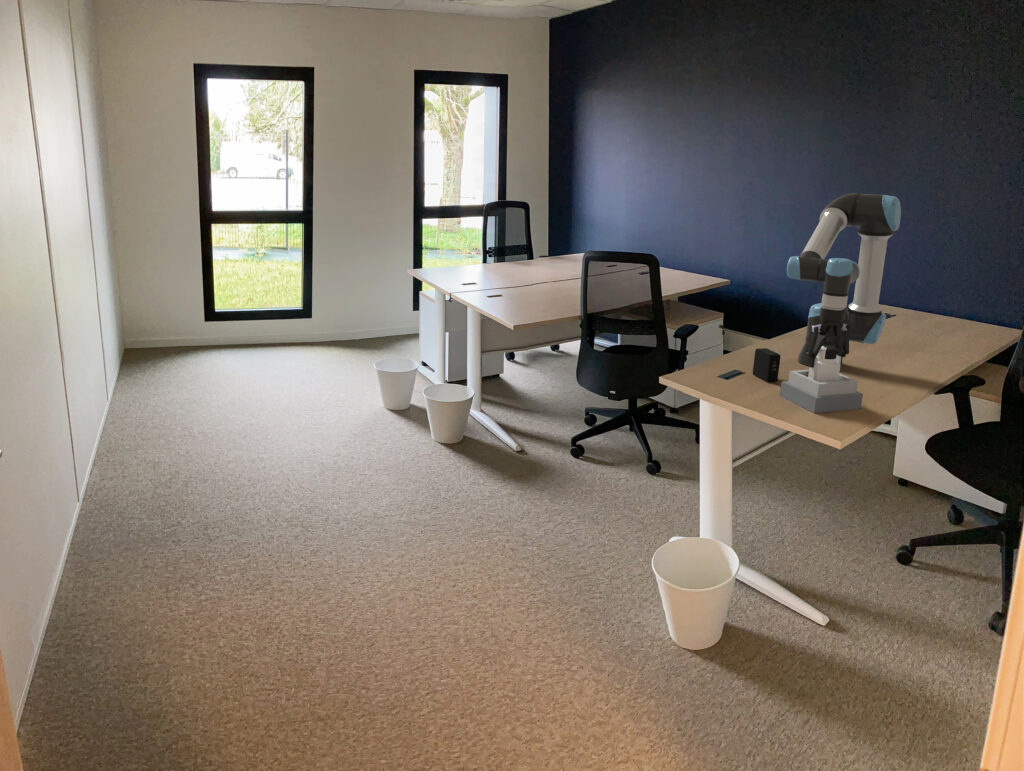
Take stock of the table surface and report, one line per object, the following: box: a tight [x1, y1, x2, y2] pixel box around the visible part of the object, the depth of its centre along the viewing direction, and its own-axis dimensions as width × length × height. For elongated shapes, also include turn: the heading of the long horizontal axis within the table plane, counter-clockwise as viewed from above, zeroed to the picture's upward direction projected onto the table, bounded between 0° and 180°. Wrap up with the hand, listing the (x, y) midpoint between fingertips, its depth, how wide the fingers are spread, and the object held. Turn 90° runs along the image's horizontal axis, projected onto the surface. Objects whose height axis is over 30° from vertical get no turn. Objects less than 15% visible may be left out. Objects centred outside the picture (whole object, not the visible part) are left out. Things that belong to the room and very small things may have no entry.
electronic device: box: [752, 347, 781, 383], centre depth 298 cm, size 4×10×10 cm, turn 15°
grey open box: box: [779, 369, 864, 414], centre depth 274 cm, size 18×18×9 cm
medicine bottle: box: [808, 346, 841, 383], centre depth 271 cm, size 7×7×12 cm
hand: (823, 375), depth 272 cm, fingers closed on medicine bottle, 8 cm apart
